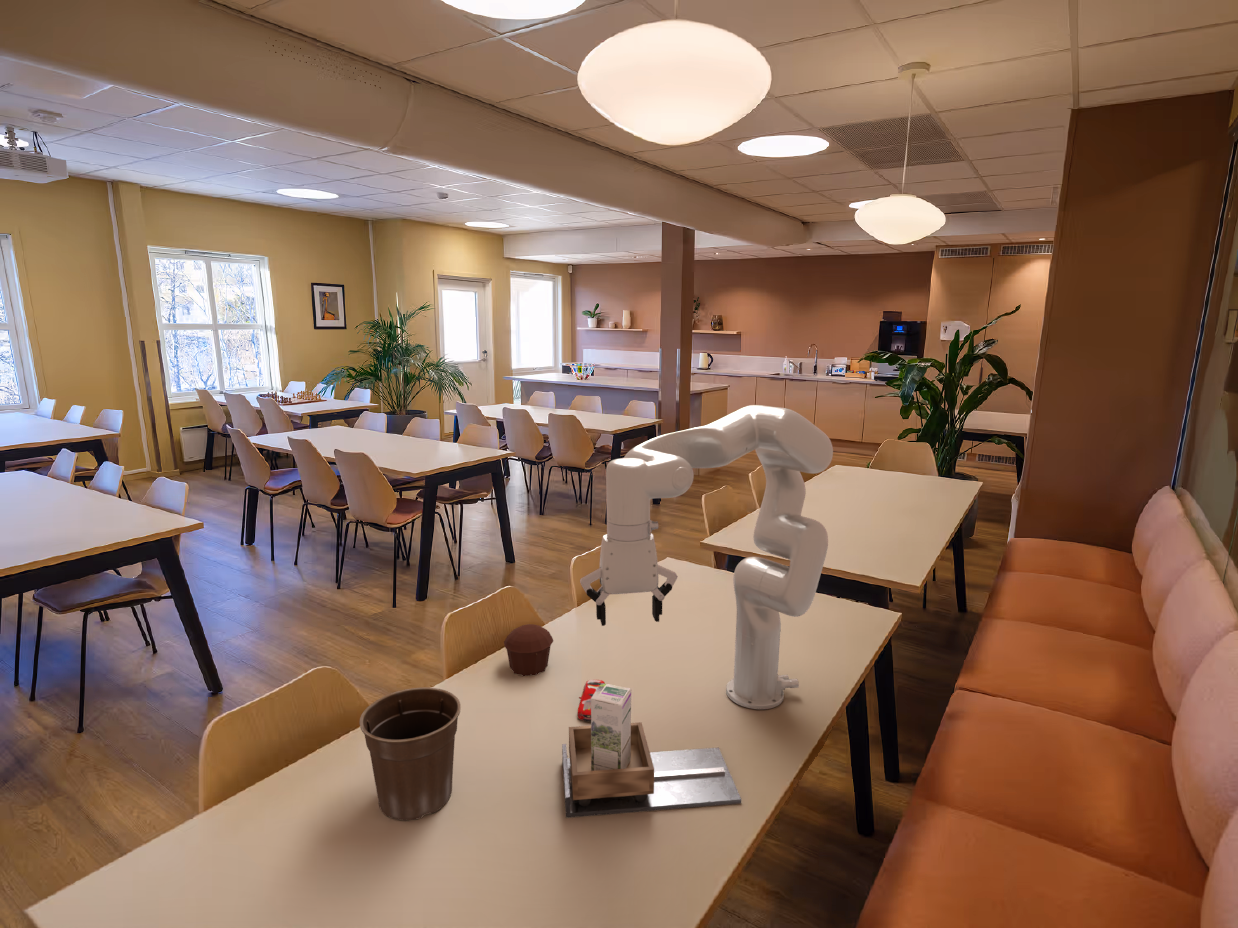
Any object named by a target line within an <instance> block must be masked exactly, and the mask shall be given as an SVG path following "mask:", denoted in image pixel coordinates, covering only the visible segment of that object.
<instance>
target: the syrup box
mask: <svg viewBox="0 0 1238 928" xmlns="http://www.w3.org/2000/svg"><path fill="white" fill-rule="evenodd" d="M631 723H632V689H631V688H630V687H624V686H619V685H614V684H608V683H602V684H601V685H600V686H599V687H598V688H597V690H596V691H595V693H594V694H593V696H592V698H591V722H590V726H591V771H598V770H611V769H625V768H627V766H628V764H629V762H630V760H631Z"/></svg>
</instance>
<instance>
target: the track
mask: <svg viewBox="0 0 1238 928" xmlns="http://www.w3.org/2000/svg"><path fill="white" fill-rule="evenodd" d="M561 745H562V747H561V750H562V751H561V753H562V754H561V755H562V759H561V760H562V761H561V763H562V776H563V777H562V779H563V794H564V795H563V796H564V808H565V818H566V819H567V818H568V819H569V818H578V817H579V818H580V817H591V816H593V817H594V816H604V815H615V814H616V815H617V814H628V813H629V814H630V813H639V812H641V813H642V812H654V811H663V810H665V811H666V810H676V809H677V810H678V809H688V808H702V807H712V806H713V807H714V806H725V805H737V804H742V797H741V796H740V793H739V791H738V788H737V785H736V783H735V781H734V779H733V777H732V774H731V773H730V772H731V771H729V767H728V766H727V765H728V764H726V761H725V759H724V757H723V754H722V752H721V750H720V747H705V748H692V749H678V750H676V749H675V750H667V751H666V750H665V751H663V750H662V751H651V752H650V755H651V759H652V763H653V766H654V794H647V798H646V800H645V801H643V802H639V801H637V800H636V798H635V795H632V796H619V797H606V798H594V799H591V802H590V804H589V805H588V806H581V805H580V804H579V800H573V794H572V781H571V769H570V757H568V753H567V743H562V744H561Z"/></svg>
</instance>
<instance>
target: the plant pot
mask: <svg viewBox="0 0 1238 928" xmlns="http://www.w3.org/2000/svg"><path fill="white" fill-rule="evenodd" d="M461 708H462V706H461V702H460V699H459V698H458V696H456V695H455V694H454V693H452V692H450V691H449V690H445V689H441V688H437V687H414V688H413V687H412V688H407V689H403V690H397V691H395V692H392V693H389V694H387V695H384V696H382V697H380V698H378V699H377V700H375V701H374V702H372V703H371V704H369V706H367V707H366V708H365V710H364V711H363V712H362V714H361V715H360V717H359V726H360V727H359V728H360V730H361V732H362V734H364V739H365V744H366V748H367V749H368V751H369V754H370V760H371V765H372V771H373V777H374V784H375V791H376V795H377V802H378V803H377V804H378V806H379V808H380V810H381V813H382V814H384V815H385V816H386V817H388V818H390V819H393V820H397V821H398V820H399V821H411V820H420V819H421V818H423V817H424V816H425V815H428V814H435V813H436V812H438V811H439V810H440V809H442V808H443V807H444V806H445V805H446V804H447V803H448V801H449V800H450V797H451V795H452V793H453V792H452V791H453V774H454V773H453V772H454V758H455V757H454V756H455V743H456V742H455V740H456V734H457V731H458V718H459V716H460V713H461V710H462V709H461Z"/></svg>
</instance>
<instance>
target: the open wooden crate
mask: <svg viewBox="0 0 1238 928" xmlns="http://www.w3.org/2000/svg"><path fill="white" fill-rule="evenodd" d="M568 752H569V753H568V755H569V756H568V757H569V758H570V769H571V781H572V794H573V800H579V804H580V805H581V806H588V805H589V804H590V802H591V799H594V798H606V797H619V796H632V795H635V798H636V800H637V801H639V802H643V801H645V800H646V798H647V794H654V766H653V763H652V759H651V755H650V748H649V745H648V740H647V737H646V733H645V731H644V726H643V722H641V721H640V722H631V760H630V762H629V764H628V766H627V768H625V769H611V770H598V771H591V725H581V726H580V725H579V726H568Z"/></svg>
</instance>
